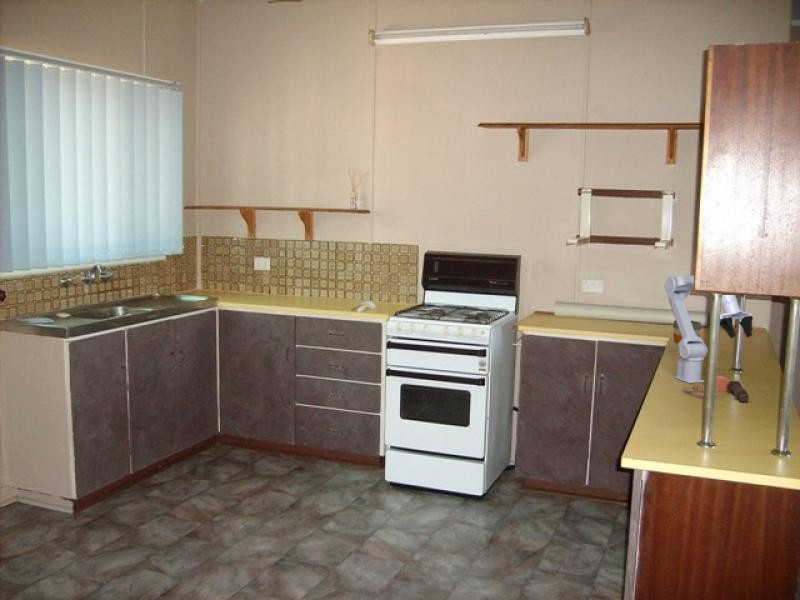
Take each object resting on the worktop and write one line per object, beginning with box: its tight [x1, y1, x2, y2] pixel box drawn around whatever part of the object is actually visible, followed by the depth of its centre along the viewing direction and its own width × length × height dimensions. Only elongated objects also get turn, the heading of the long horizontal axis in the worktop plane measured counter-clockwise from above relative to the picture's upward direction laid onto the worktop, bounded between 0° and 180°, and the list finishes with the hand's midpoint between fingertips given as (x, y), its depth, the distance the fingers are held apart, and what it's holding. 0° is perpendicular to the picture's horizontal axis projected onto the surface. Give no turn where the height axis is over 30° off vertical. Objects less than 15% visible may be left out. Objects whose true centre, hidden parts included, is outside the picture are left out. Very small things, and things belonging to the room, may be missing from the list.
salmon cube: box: [715, 375, 729, 392], centre depth 311 cm, size 5×5×5 cm
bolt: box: [726, 380, 750, 403], centre depth 299 cm, size 6×5×15 cm
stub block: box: [681, 382, 718, 399], centre depth 303 cm, size 10×8×4 cm
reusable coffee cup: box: [672, 320, 702, 353], centre depth 379 cm, size 13×13×15 cm
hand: (741, 336), depth 298 cm, fingers open, 7 cm apart
